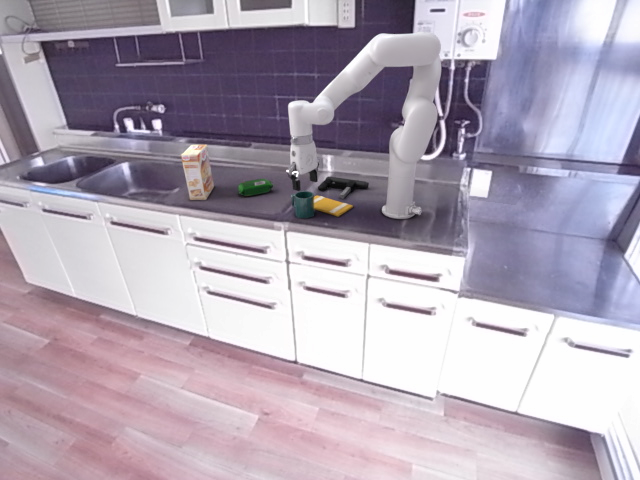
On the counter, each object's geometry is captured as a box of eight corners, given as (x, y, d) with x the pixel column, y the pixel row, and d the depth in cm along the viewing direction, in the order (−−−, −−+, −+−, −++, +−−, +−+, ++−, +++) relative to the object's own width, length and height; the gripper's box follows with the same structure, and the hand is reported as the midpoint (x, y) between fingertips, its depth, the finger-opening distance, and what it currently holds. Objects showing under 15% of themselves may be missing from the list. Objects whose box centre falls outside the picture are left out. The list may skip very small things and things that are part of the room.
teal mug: (318, 213, 144) (317, 193, 140) (306, 220, 139) (305, 200, 135) (298, 206, 149) (297, 188, 145) (286, 213, 144) (284, 194, 140)
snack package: (276, 192, 162) (275, 181, 160) (240, 198, 157) (238, 187, 155) (271, 187, 168) (270, 176, 165) (236, 192, 163) (235, 181, 160)
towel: (352, 207, 147) (352, 205, 147) (338, 216, 141) (338, 214, 140) (317, 196, 157) (316, 194, 157) (301, 205, 150) (301, 203, 150)
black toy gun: (357, 195, 151) (369, 179, 163) (312, 188, 159) (327, 174, 171) (357, 202, 153) (369, 186, 165) (313, 195, 160) (328, 180, 172)
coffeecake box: (206, 200, 157) (197, 154, 147) (189, 200, 157) (179, 154, 147) (214, 186, 170) (207, 143, 160) (199, 187, 170) (190, 144, 160)
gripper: (293, 147, 121) (297, 196, 130) (325, 134, 132) (327, 180, 141) (276, 144, 125) (281, 191, 134) (309, 132, 137) (312, 176, 145)
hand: (305, 185), depth 137 cm, fingers open, 9 cm apart
